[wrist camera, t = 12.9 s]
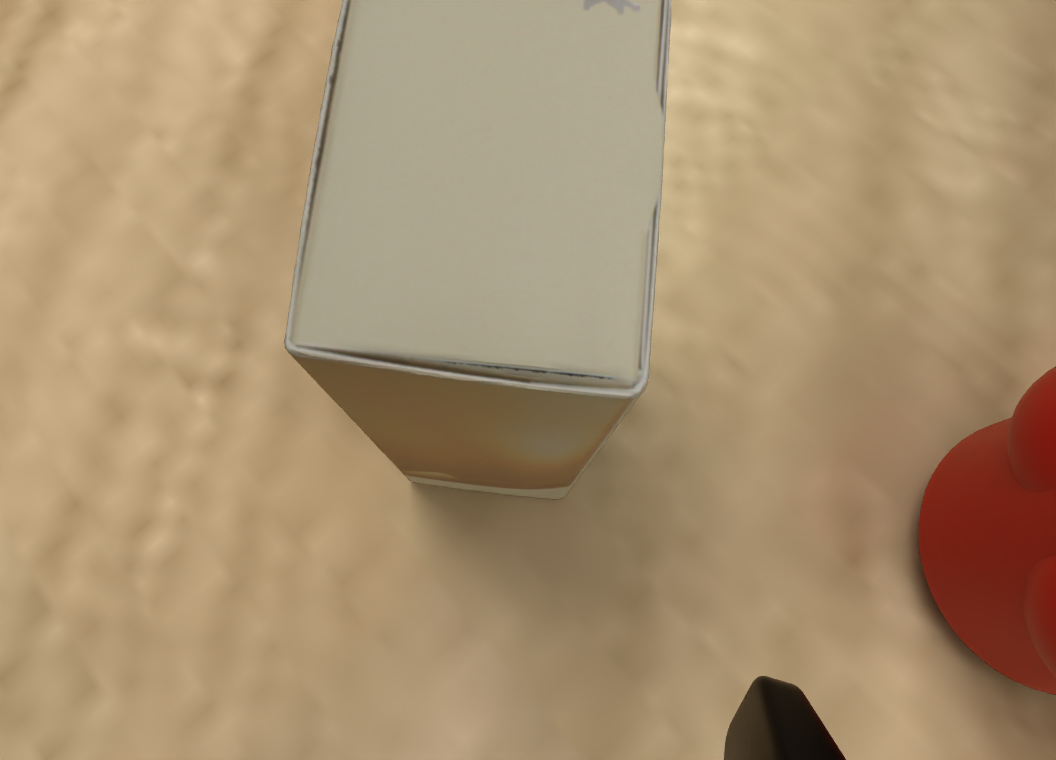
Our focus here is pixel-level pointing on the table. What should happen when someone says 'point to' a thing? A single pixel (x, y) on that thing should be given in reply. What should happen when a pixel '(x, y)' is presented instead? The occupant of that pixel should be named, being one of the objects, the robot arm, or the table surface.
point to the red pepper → (999, 539)
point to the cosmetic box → (485, 232)
